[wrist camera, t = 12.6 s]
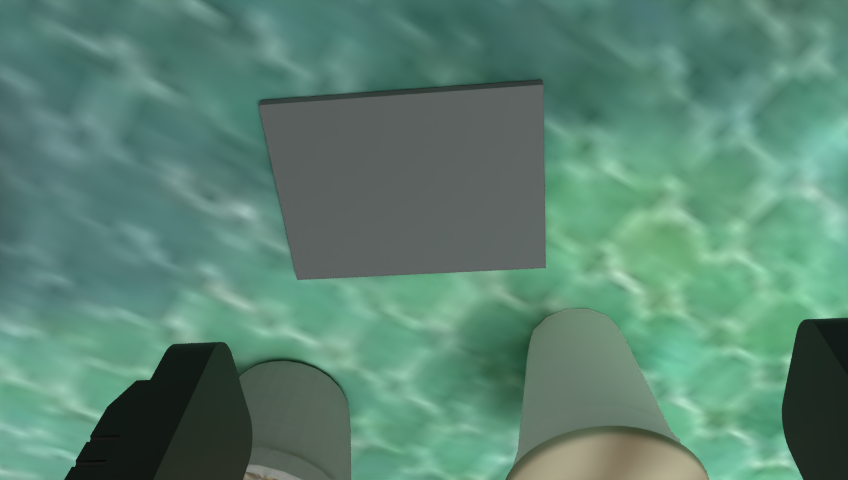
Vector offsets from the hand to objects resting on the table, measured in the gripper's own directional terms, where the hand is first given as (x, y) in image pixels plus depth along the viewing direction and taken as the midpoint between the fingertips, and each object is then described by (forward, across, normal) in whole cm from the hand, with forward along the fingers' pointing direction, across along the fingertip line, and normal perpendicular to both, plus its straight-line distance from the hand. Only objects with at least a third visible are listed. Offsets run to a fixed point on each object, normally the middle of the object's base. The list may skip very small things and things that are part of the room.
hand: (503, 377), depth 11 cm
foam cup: (+32, -5, +26) cm, 42 cm away
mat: (+32, +5, +13) cm, 35 cm away
